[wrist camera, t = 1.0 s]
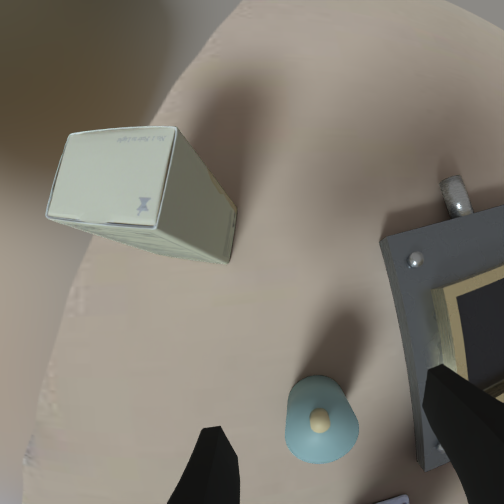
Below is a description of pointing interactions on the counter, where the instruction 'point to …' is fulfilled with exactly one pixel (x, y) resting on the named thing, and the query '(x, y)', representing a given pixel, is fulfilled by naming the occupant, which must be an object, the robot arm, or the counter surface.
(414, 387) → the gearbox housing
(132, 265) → the counter surface
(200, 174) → the skincare box
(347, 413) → the spout can
